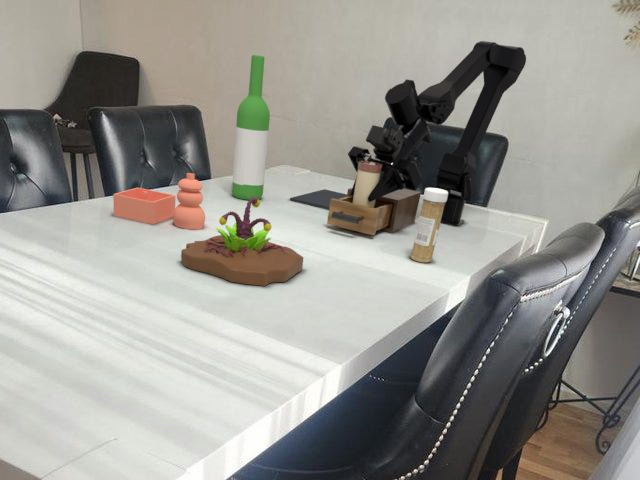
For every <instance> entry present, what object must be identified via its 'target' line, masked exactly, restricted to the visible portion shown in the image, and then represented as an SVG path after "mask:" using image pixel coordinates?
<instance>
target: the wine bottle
mask: <svg viewBox="0 0 640 480" xmlns="http://www.w3.org/2000/svg"><path fill="white" fill-rule="evenodd" d="M264 69H265V55H258V54H257V55H256V54H252V55H251V60H250V73H249V84H248V85H249V86H248V95H247V96H246V97H245V98H244V99H242V101H241V102H240V104H239V106H238V109H237V111H236V112H237V113H236V126H235V138H234V152H233V153H234V155H233V170H232V184H231V192H232V196H233V197H235V198H237V199H239V200H245V201H249V200H250V198H252V197H256V198H258V199H259V200H261V199H262V197H263V194H264V186H265V185H264V184H265V175H266V165H267V152H268V143H269V142H268V141H269V131H270V129H269V128H270V119H271V118H270V117H271V115H270V108H269V106H268V104H267V103H266V101H265V100H264V98H263V97H262V96H263V83H264Z"/></svg>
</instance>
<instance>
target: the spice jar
mask: <svg viewBox="0 0 640 480" xmlns="http://www.w3.org/2000/svg"><path fill="white" fill-rule="evenodd" d="M447 197H448V192H447V191H446V190H443V189H438V188H437V187H425V188H424V193H423V196H422V205H421V209H420V213H419V217H418V221H417V225H416V231H415V234H414V239H413V245H412V249H411V254H410V259H412V261H415V262H418V263H426V264H428V263H431V262H432V261H433V255H434V252H435V248H436V244H437V240H438V235H439V231H440V227H441V222H440V221H441V217H442V213H443V209H444V205H445V202H446V201H447Z"/></svg>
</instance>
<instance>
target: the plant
mask: <svg viewBox="0 0 640 480" xmlns="http://www.w3.org/2000/svg"><path fill="white" fill-rule="evenodd" d="M260 205H261V201H260V199H258V198H256V197H252V198H250V200H248V202H246V206H245V208H244V213H243V219H241V216H240V215H239V214H238V213H237V212H236V211H228V212H227V213H225V214H223V215H221V216H220V218H219V220H218V222H219V224H220V225H221V226H225V229H226V231H227V232H228V233H227V232H226V231H225V230H223V229H221V228H218V227H215V230H216V231H217V233H219V234H220V235H215V236H212V237H209V238H207V239H205V240H195V241H194V242H189V243H186V245H185V248H182V249H181V254H180V255H181V256H180V260H181V261H180V262H181V263H182V264H183V266H184V267H186V268H187V269H190V270H193V271H197V272H201V273H205V274H209V275H212V276H215V277H218V278H221V279H224V280H226V281H228V282H231V283H236V284H244V285H251V286H261V287H266V286H267V285H269V284H273V283H285V282H287V281H288V280H290V279H291V278H292V277H294V276H295V275H296V274H299V273H300V272H301V271H303V266H304V264H303V263H304V256H302V255H301V254H299V253H298V252H296V250H294V249H292V248H290V247H287V246H283V245H279V244H277V243H274V242H271V241H270V240H271V239H272V237H267V235H268V234H269V233H270V231H271V229H272V224H271V222H270V221H269V220H268V219H265V218H262V217H259V218H255V219H254V220H252V221H251V219H250V217H251V215H250V214H251V209H252V206H253V208H259V207H260ZM229 216H232V217H234V220H235V223H233V225H232V227H231V226H229V225H227V222H228V218H229ZM259 223H262V225H263V228H262V229H260V230H258V231H257V232H256V233H255V232H254V227H255V226H256V225H257V224H259Z"/></svg>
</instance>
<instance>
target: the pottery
mask: <svg viewBox="0 0 640 480" xmlns="http://www.w3.org/2000/svg"><path fill="white" fill-rule="evenodd" d="M195 176H196V173H193V172H187V173H186V178H182V179H180V180H179V181H178V183H177V186H178V188H179V190H178V191H177V193H176V195H175V194H170V193H168V192H167V193H166V192H161V191H157V190H152V189H147V188H142V187H134V188H130V189H126V190H123V191H120V192H116V193H113V194H112V198H113V199H112V200H113V216H114V217H117V218H122V219H126V220H131V221H135V222H140V223H144V224H149V225H156V224H159V223H161V222H163V221H166V220H169V219H171V218H172V219H173V223H174V224H173V225H174V226H175V227H177V228H180V229H185V230H200V229H201V230H202V229H203V228H204V225H205V222H206V214H205V211H204V209H203V208H202V206H200V205H201V204H202V202H203V201H204V195H203V194H202V192H201V191H202V190H203V184H202V183H201V181H200V180H198V179H196V177H195ZM176 199H177V202H178V203H179V204H177V206H176Z"/></svg>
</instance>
